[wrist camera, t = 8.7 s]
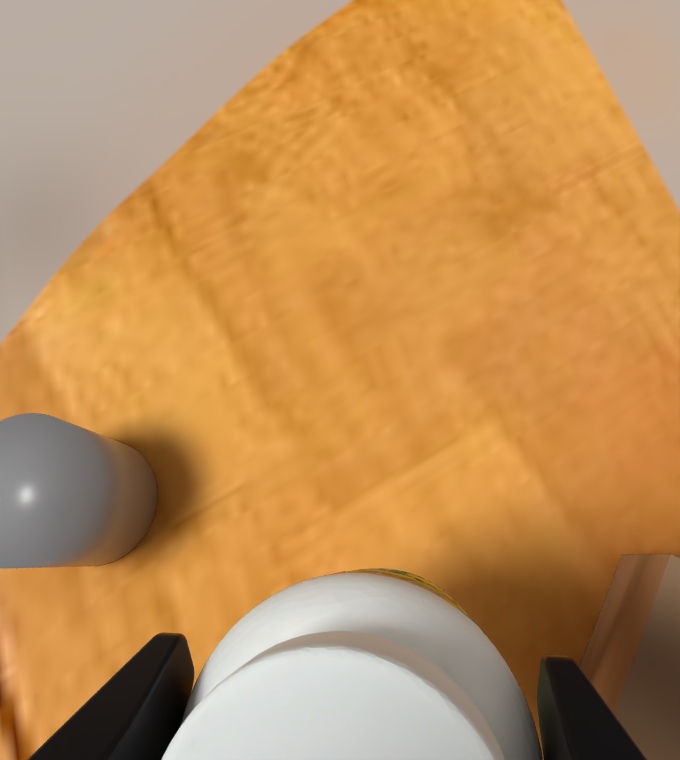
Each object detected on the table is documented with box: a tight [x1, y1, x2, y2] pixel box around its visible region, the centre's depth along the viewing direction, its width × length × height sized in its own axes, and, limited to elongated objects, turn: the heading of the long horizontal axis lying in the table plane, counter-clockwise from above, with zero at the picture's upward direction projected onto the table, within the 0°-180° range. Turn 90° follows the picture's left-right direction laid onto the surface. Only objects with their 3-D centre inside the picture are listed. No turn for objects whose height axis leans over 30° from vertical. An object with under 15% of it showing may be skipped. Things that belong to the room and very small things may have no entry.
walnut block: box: [580, 554, 680, 760], centre depth 18 cm, size 6×4×4 cm, turn 153°
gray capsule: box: [0, 413, 158, 569], centre depth 22 cm, size 5×5×5 cm
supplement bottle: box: [162, 568, 543, 760], centre depth 10 cm, size 5×5×10 cm
